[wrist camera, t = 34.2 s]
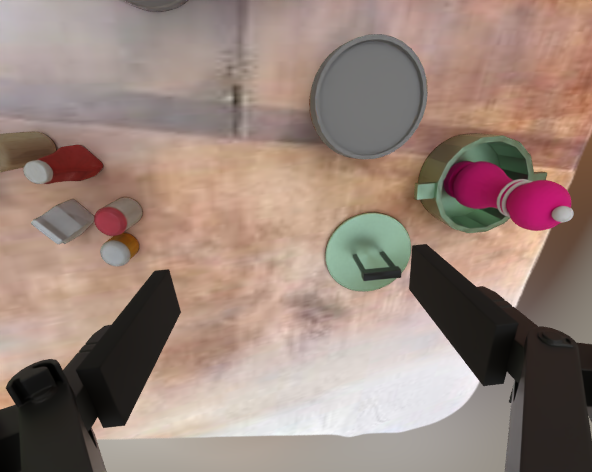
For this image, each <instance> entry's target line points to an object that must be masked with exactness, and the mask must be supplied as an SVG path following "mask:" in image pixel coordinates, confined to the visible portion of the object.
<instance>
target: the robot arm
mask: <svg viewBox="0 0 592 472" xmlns="http://www.w3.org/2000/svg"><path fill="white" fill-rule="evenodd" d="M124 1H126V2H127V3H129V4H131V5H133V6H135V7H137V8H140V9H143V10H148V11H156V12H157V11H168V10H171V9H174V8H177V7H179V6H181V5H182V4H184V3H185V2H187V1H188V0H124ZM409 289H410V291H411V292H412V293H413V295H414V296H415V297H416V299H417V300H418V301H419V303H420V304H421V305H422V306H423V308H424V309H425V310H426V312H427V313H428V314H429V316H430V317H431V318H432V320H433V321H434V322H435V323H436V325H437V326H438V327H439V329H440V330H441V331H442V333H443V334H444V335H445V337H446V338H447V339H448V340H449V342H450V343H451V344H452V346H453V347H454V348H455V350H456V351H457V352H458V354H459V355H460V356H461V357H462V359H463V360H464V361H465V363H466V364H467V365H468V367H469V368H470V369H471V371H472V372H473V373H474V374H475V376H476V377H477V378H478V380H479V381H480V382H481V384H482V385H483V386H487V385H496V384H503V383H504V380H505V376H506V372H508V373H509V374H510V375H511V376H512V377H513V378H514V379H515V381H514V385H513V389H512V392H511V396H510V400H509V402H510V403H511V413H510V423H509V433H508V443H507V454H506V464H505V472H592V439H591V432H590V425H589V418H590V420H591V421H592V344H584V343H576V342H575V341H574V340H573V339H572V338H571V337H570V336H568V335H566V334H564V333H563V332H560V331H558V330H555V329H552V328H548V327H538V326H537V325H536V324H534V323H533V322H532V321H531V320H529V319H528V318H527V317H526V316H524V315H523V314H522V313H521V312H519V311H518V310H517V309H516V308H514V307H512V305H511V304H509V303H508V302H507V301H505V300H504V299H503V298H502V297H501V296H500V295H498V294H497V293H496V292H494V291H492V290H490V289H488V288H486V287H484V286H480V287H476V286H475V285H473V284H472V283H471V282H470V281H469V280H468V279H466V278H465V277H464V276H463V275H462V274H461V273H459V272H458V271H457V270H456V269H455V268H454V267H452V266H451V265H450V264H449V263H448V262H447V261H445V260H444V259H443V258H442V257H441V256H440V255H438V254H437V253H436V252H435V251H434V250H433V249H431V248H430V247H429V246H428V245H427V244H423V245H413V246H412V258H411V271H410V285H409ZM180 313H181V311H180V307H179V304H178V300H177V297H176V293H175V289H174V286H173V282H172V278H171V275H170V271H169V270H159V271H154V272H153V273H152V275H151V276H150V277H149V279H148V280H147V281H146V282H145V284H144V285H143V286H142V287H141V289H140V290H139V291H138V292H137V294H136V295H135V296H134V297H133V299H132V300H131V301H130V302H129V304H128V305H127V306H126V307H125V309H124V310H123V311H122V312H121V314H120V315H119V316H118V317H117V319H116V320H115V321H114V322H113V324H112V325H107V326H104V327H103V328H101V329H100V330H99V331H97V332H96V333H94V334H93V335H92V337H91V338H90V339H89V340H88V341H87V342H86V345H84V346H83V347H82V348H81V350H80V351H79V353H77V354H76V355H75V357H74V358H73V359H72V360H71V361H70V363H69V364H68V365H67V366H66V367H65V368H64V370H62V368H61V366H60V364H59V362H58V361H57V360H53V359H48V360H42V361H39V362H37V363H34V364H32V365H30V366H28V367H26V368H24V369H22V370H21V371H20V372H18V373H17V374H16V375H14V376H13V377H12V379H11V380H10V381H9V382H8V384H7V387H6V389H7V391H8V393H9V394H10V396H11V397H12V399H13V401H14V402H15V404H16V405H13V406H10V407H7V408H4V409H1V410H0V472H106V469H105V465H104V462H103V459H102V456H101V453H100V450H99V447H98V443H97V440H96V437H95V434H94V432H93V430H92V428H91V427H92V425H93V424H94V422H95V420H96V419H97V417H98V418H99V420H100V422H101V424H102V426H103V428H107V427H116V426H125V424H126V422H127V420H128V418H129V416H130V414H131V412H132V410H133V408H134V406H135V404H136V402H137V400H138V398H139V396H140V394H141V392H142V390H143V388H144V386H145V384H146V382H147V380H148V378H149V376H150V374H151V372H152V370H153V368H154V366H155V364H156V362H157V360H158V357H159V355H160V353H161V351H162V349H163V347H164V345H165V343H166V341H167V339H168V337H169V335H170V333H171V331H172V329H173V327H174V325H175V323H176V321H177V319H178V317H179V315H180ZM588 416H589V418H588Z"/></svg>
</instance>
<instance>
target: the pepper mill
mask: <svg viewBox="0 0 592 472" xmlns="http://www.w3.org/2000/svg"><path fill="white" fill-rule="evenodd" d="M444 188H445V191H446V192H447V193H448V194H449V195H450V196H452V197H454V198H456V200H457V201H458V202H459V203H460V204H462V205H463V206H466V207H469V208H473V209H483V208H488V207H494V208H497V209H498V210H499V211H500V213H502V214H503V215H505V216H508V217H509V218H511V219H512V221H513V222H514V223H515V224H517V225H518V226H520V227H522V228H525V229H528V230H534V231H540V230H546V229H550V228H552V227H554V226H556V225H558V224H559V223H560V222H566V221H569V220H570V219H571V218H572V217H573V210H572V209H571V198H570V195H569V193H568V191H567V190H566V189H565V188H564V187H562V186H561V185H560V184H557V183H555V182H552V181H547V180H538V181H529V180H525V179H518V180H512V179H510V178H509V177H508V176H507V175H506V174H505V172H504V171H503V170H502V169H501V168H500V167H498V166H497V165H495V164H492V163H489V162H485V161H478V162H471V161H462V162H459V163H457V164H455V165H454V166H452V167H451V168H450V170H449V172H448V174H447V176H446V178H445V180H444Z"/></svg>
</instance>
